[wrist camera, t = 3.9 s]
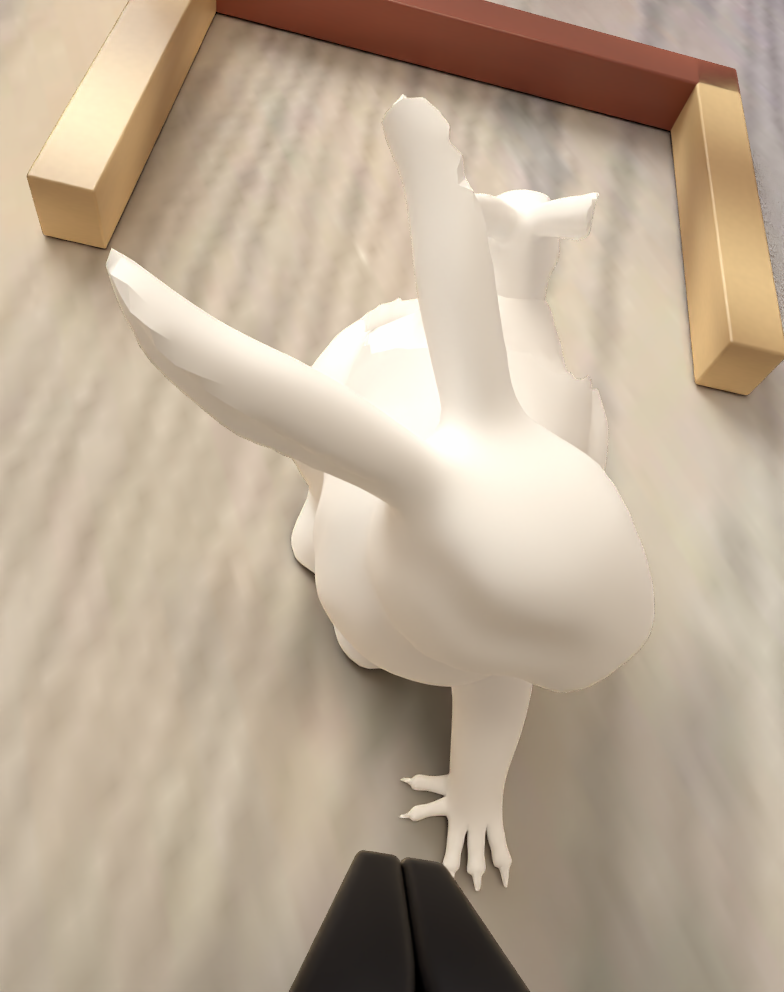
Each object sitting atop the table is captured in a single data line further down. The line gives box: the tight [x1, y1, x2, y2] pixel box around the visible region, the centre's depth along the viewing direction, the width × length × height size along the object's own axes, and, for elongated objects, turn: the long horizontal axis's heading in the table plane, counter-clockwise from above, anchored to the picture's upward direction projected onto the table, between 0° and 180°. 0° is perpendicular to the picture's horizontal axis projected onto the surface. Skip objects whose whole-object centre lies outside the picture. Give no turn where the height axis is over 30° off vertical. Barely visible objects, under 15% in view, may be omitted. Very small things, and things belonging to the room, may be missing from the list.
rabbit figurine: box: [106, 94, 655, 891], centre depth 12 cm, size 12×8×10 cm, turn 168°
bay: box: [27, 0, 784, 395], centre depth 22 cm, size 13×19×2 cm
